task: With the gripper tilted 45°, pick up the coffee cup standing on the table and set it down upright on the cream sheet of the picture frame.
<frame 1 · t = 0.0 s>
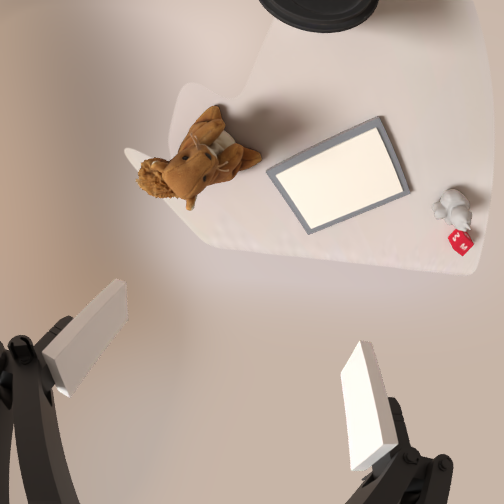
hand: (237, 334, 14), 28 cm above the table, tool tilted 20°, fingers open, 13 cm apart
dice: (457, 234, 37), on the table
light grey lumpy piece: (445, 199, 34), on the table
picture frame: (341, 178, 36), on the table
stuffed squirrel: (207, 150, 37), on the table
coffee cup: (313, 6, 22), on the table
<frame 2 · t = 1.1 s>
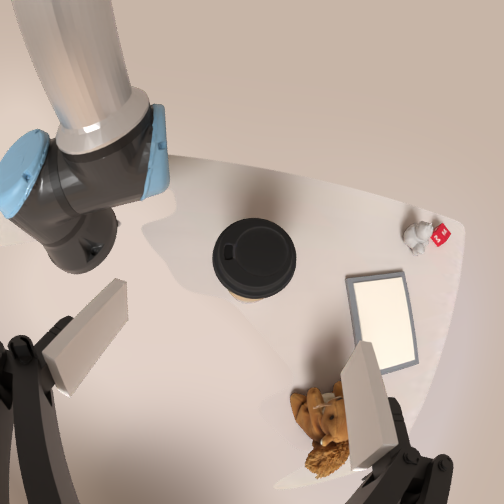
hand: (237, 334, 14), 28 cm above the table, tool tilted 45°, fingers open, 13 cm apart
dice: (435, 238, 50), on the table
light grey lumpy piece: (410, 244, 48), on the table
picture frame: (383, 324, 43), on the table
stuffed squirrel: (321, 420, 37), on the table
coffee cup: (248, 285, 44), on the table
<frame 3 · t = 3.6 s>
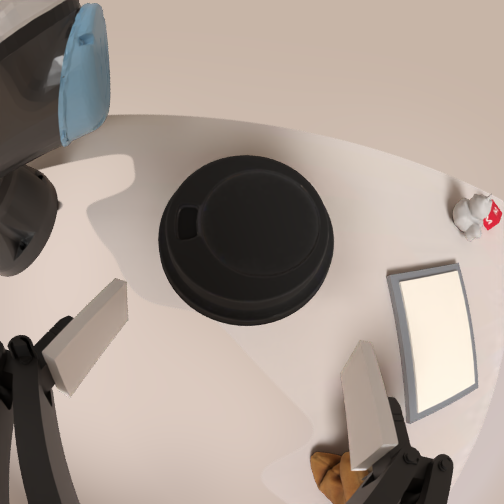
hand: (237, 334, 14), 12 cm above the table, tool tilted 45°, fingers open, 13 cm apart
dice: (484, 219, 33), on the table
light grey lumpy piece: (459, 226, 32), on the table
picture frame: (438, 338, 26), on the table
stuffed squirrel: (354, 480, 20), on the table
coffee cup: (240, 291, 27), on the table
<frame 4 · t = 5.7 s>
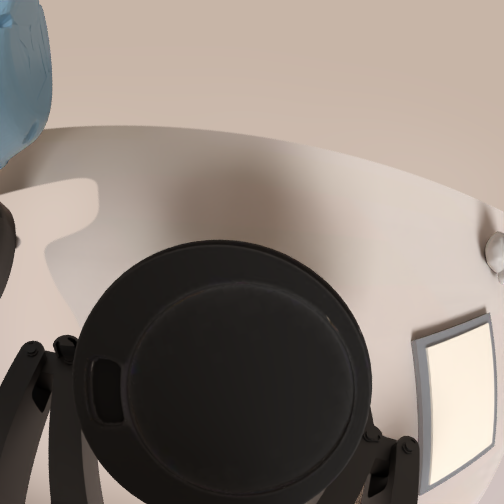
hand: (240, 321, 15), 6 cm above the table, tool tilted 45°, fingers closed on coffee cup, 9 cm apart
light grey lumpy piece: (490, 264, 25), on the table
picture frame: (460, 403, 19), on the table
coffee cup: (229, 369, 20), on the table, touching gripper
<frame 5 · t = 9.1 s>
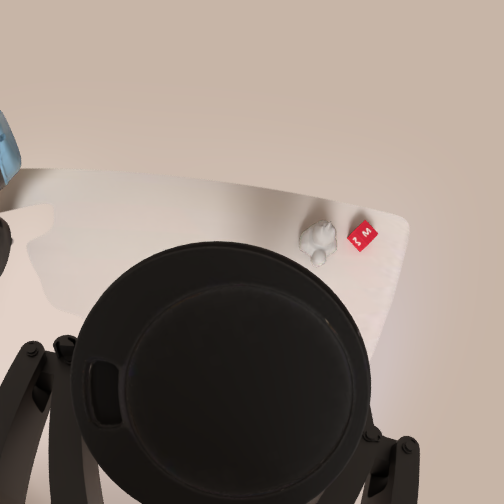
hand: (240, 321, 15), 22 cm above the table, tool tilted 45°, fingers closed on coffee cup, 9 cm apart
dice: (358, 240, 43), on the table
light grey lumpy piece: (313, 250, 41), on the table
coffee cup: (228, 370, 20), point 16 cm above the table, touching gripper
when the fingers open (8 cm above the table, at t = 12.4 s): coffee cup drops 1 cm, resting on picture frame.
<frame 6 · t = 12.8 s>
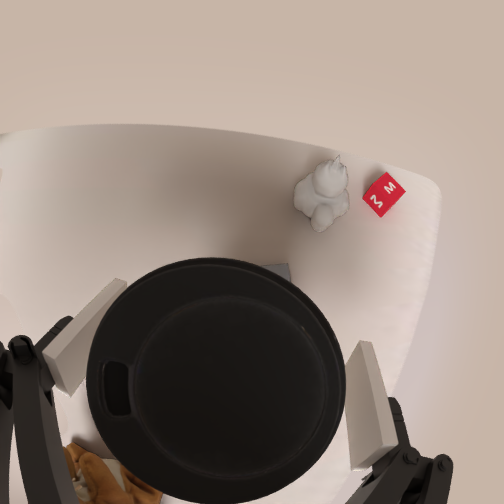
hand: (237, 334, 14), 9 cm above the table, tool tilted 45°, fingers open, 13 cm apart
dice: (377, 202, 29), on the table
light grey lumpy piece: (315, 212, 28), on the table
stuffed squirrel: (122, 493, 17), on the table
coffee cup: (225, 369, 21), point 1 cm above the table, touching picture frame
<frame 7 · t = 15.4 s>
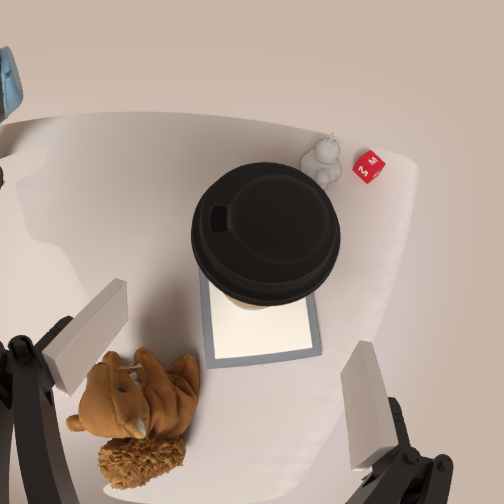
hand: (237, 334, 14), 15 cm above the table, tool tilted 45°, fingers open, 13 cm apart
dice: (364, 173, 38), on the table
light grey lumpy piece: (316, 178, 37), on the table
picture frame: (255, 286, 31), on the table
stuffed squirrel: (158, 411, 25), on the table
coffee cup: (253, 284, 30), point 1 cm above the table, touching picture frame
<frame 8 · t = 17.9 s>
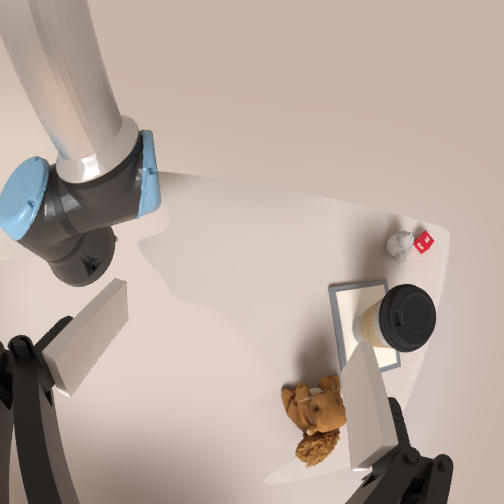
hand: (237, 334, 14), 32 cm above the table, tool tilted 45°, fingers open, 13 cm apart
dice: (419, 245, 53), on the table
light grey lumpy piece: (392, 252, 52), on the table
picture frame: (365, 329, 46), on the table
stuffed squirrel: (311, 413, 41), on the table
coffee cup: (366, 329, 45), point 1 cm above the table, touching picture frame
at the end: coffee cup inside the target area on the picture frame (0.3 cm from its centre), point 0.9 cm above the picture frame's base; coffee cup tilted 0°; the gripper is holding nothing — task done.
